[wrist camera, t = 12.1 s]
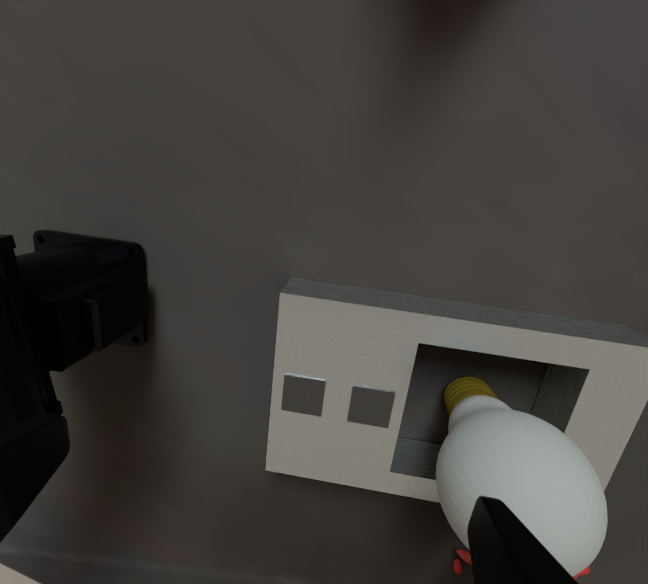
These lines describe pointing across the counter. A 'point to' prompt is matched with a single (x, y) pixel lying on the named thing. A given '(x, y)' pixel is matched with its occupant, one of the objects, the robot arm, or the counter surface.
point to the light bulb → (519, 474)
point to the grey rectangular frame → (396, 369)
